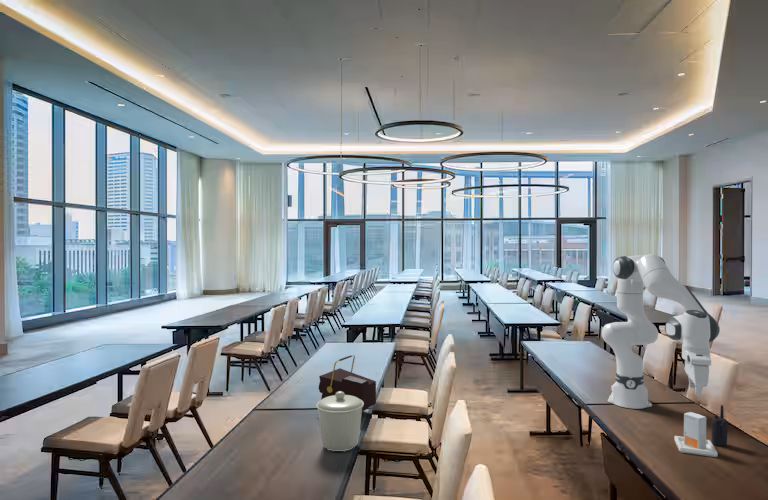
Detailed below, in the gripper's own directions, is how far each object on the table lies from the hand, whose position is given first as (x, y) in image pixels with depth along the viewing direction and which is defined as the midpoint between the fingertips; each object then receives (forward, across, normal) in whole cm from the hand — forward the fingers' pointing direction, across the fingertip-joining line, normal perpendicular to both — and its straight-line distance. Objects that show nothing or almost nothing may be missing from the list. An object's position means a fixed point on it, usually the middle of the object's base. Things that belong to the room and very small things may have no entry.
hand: (695, 391), depth 184 cm
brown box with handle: (+22, +11, -138) cm, 140 cm away
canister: (+22, +46, -124) cm, 134 cm away
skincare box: (+21, 0, 0) cm, 21 cm away
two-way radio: (+22, -6, +10) cm, 24 cm away
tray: (+21, 0, 0) cm, 21 cm away
